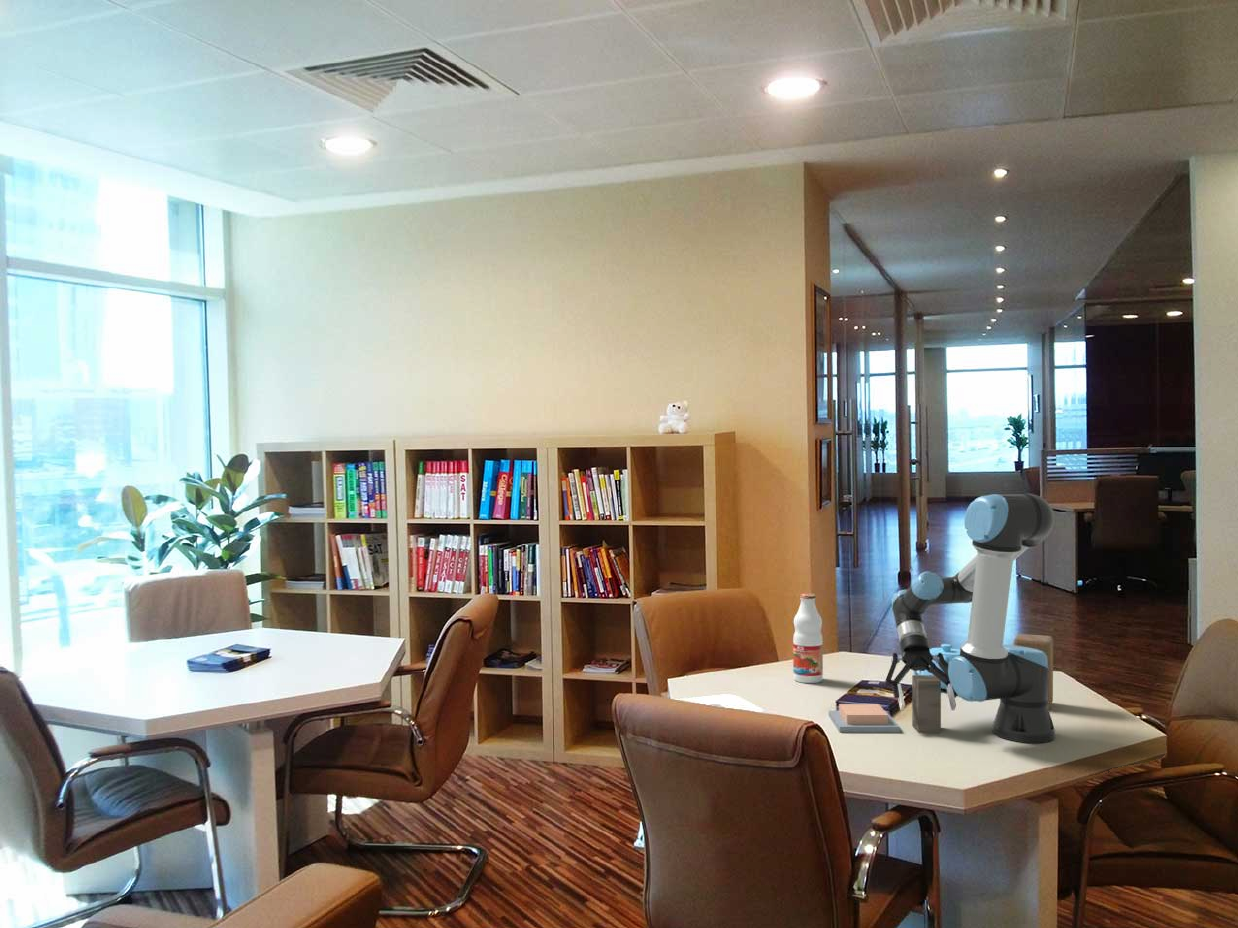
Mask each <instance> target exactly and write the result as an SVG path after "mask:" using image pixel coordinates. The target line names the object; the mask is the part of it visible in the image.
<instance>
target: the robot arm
mask: <svg viewBox="0 0 1238 928" xmlns="http://www.w3.org/2000/svg"><path fill="white" fill-rule="evenodd" d="M1054 523H1055V516H1054V511H1053V509H1052V507H1051V505H1050V504H1049V502H1048V501H1046V500H1045V498H1042V497H1040V496H1039V495H1037V494H1033V493H1021V494H1020V493H1012V494H1011V493H1009V494H1007V493H1006V494H1005V493H1004V494H1003V493H1002V494H1001V493H999V494H998V493H997V494H995V493H993V494H992V493H991V494H988V495H981V496H979V497H977V498H975V499H974V500H973V501H972V502H971V503H970V504H969V506H968V507H967V509H966V512H965V515H964V528H965V529H966V534H967V536H968V537H969V539H971V540H972V543H971V544H972V545H971V546H973V547H974V549H975V550H976V551H977V552H976V553H977V555H976V556H974V557H973V558H972V559H971V560H970V561H969V562H968V563H967V564H966V565H965V566H964V567H963V568H962V569H960V570H959V572H957V573H956V574H955V575H954V576H946V577H940V576H939V575H938V574H936V573H933V572H931V571H923V572H922V573H919V575H918V576H917V577H916V578H915V579H914V580H913V581H912V583H911V585H910V586H909V587H908V588H907V589H901V590H898V592H895V593H894V594H893V595H892V596H891V610H892V613H893V618H894V623H895V627H896V629H897V634H898V640H899V645H900V646H899V647H900V650H901V654H898V653H897V652H893V653H892V656H891V665H890V668H889V670H888V673H887V675H886V678H885V681H884V686H885V687H890V689H891V690H892V694H893V697H894V698H895V699H897V700H898V705H899V710H900V711H904V709H905V706H906V703H905V700H904V694H903V690H902V689H903V688H902V684H901V683H900V682H901V681H902V680H903V678H905V676H906V675H907V674H908V673H909V672H910V670H912V671H913V672H914V671H917V672H919V671H918V670H920V671H925V670H927V671H928V672H929V673H932V674H933V675H935V676H936V677H937V678H939V679H940V680H941V681H942V682H943V683H944V684H945V685H947V688H946V689H945V690H946V693H947V697H948V703H949V705H950V711H955V709H956V708H957V702H956V697H959V698H961V699H962V700H963V701H965V702H970V703H972V702H979V703H983V702H985V701H992V700H999V707H998V708H997V711H996V715H995V718H994V721H993V723H992V732H993V734H994V735H996V736H997V737H999V738H1001V739H1005V740H1009V741H1014V742H1021V743H1028V744H1029V743H1031V744H1032V743H1034V744H1035V743H1036V744H1037V743H1047V742H1052V741H1053V740H1055V738H1056V736H1055V735H1056V733H1055V732H1056V729H1055V726H1054V723H1053V720H1052V717H1051V713H1050V711H1049V710H1050V709H1049V710H1048V669H1049V668H1048V663H1047V655H1046V654H1045V653H1044V652H1043V651H1040V650H1037V649H1033V648H1028V647H1022V646H1015V645H1014V644H1004V639H1005V631H1006V630H1005V629H1006V622H1007V621H1006V620H1007V613H1008V604H1009V597H1010V596H1009V595H1010V590H1011V589H1010V587H1011V580H1012V573H1013V564H1014V561H1016V559H1017V558H1018V557H1020V556H1021V555H1022V554H1023V553H1024V552H1025V551H1026V550H1028V549H1033V548H1036V547H1037V546H1039V545H1040V544H1041V543H1042V542H1043V541H1044V540H1045V539H1046V538H1047V537H1048V536H1049V535H1050V533H1051V532H1052V530H1053V529H1054V527H1053V526H1054ZM970 603H971V607H970V608H971V609H970V618H969V625H968V634H967V640H966V641H964V642H963V643H961V645H960V648H959V650H960V656H956V657H955V658H953V659H952V660H951V661H950V663H949V664H948V663H947V662H946V661H945V660H944V657H943V654H942V653H938V655H932V654H931V653H930V649H931V648H930V646H929V642H928V637H927V633H926V629H925V625H924V621H923V615H924V614H925V612H926V611H928V609H929V608H930V607H932V606H937V605H938V606H939V605H949V604H950V605H952V604H970ZM932 660H934V661H935V662H936V663H938V665H939V666H940V668H941V669H942V670H943V671H944V672H945V673H944V672H943V671H942V670H940V669H939V668H938V667H937V666H936V665H935V663H933V662H932ZM901 661H902V663H904V666H903V668H902V669H901V670H900V672H898V674H897V675H896V676H895V677H894V678H893V676H894V674H895V673H894V672H895V670H896V668H897V665H898V664H899V663H900V662H901ZM929 665H930V667H929ZM892 678H893V679H892Z"/></svg>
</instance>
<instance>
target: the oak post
mask: <svg viewBox="0 0 1238 928" xmlns="http://www.w3.org/2000/svg"><path fill="white" fill-rule="evenodd" d="M911 676H912V677H911V682H912V683H911V684H912V685H911V686H912V687H911V689H912V691H911V693H912V695H911V699H912V700H911V703H912V705H911V715H912V717H911V718H912V719H911V720H912V722H911V725H912V728H913V729H914V730H915V731H916V732H917V733H919V734H920V733H925V734H927V733H929V734H931V733H933V734H934V733H935V734H940V733H942V688H941V680H940V679H939V678H937V677H936V676H935V675H914V674H913V675H911Z"/></svg>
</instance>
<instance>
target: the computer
mask: <svg viewBox="0 0 1238 928" xmlns="http://www.w3.org/2000/svg"><path fill="white" fill-rule="evenodd" d="M676 700H685V701H690V702H695V703H700V704H706V705H712V706H718V707H725V708H734V709H743V710H750V711H755V712H761V713H764V714H765V710H764V709H763V708H762V707H759V706H757V705H755V704H754V703H752V702H750V701H748V700H746V699H745V698H742V697H741V696H739V695H734V694H728V693H726V694H716V695H715V694H714V695H707V696H705V695H704V696H697V697H696V696H695V697H688V698H687V697H686V698H678V699H677V698H676Z"/></svg>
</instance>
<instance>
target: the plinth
mask: <svg viewBox="0 0 1238 928" xmlns="http://www.w3.org/2000/svg"><path fill="white" fill-rule="evenodd" d="M828 717H829V718H830V720H831V721H832V723H833V724H834V726H835V727H836V729H837V731H838V732H839V733H901V730H900V729H901V726H900V725H899V724H898V723H897V722H896V721H895V719H894V718H893V717H892V716H891V715H890V714H889V712H887V710H884V709H883V707H882V706H881V705H880V704H878V703H839V704H838V710H828Z"/></svg>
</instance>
